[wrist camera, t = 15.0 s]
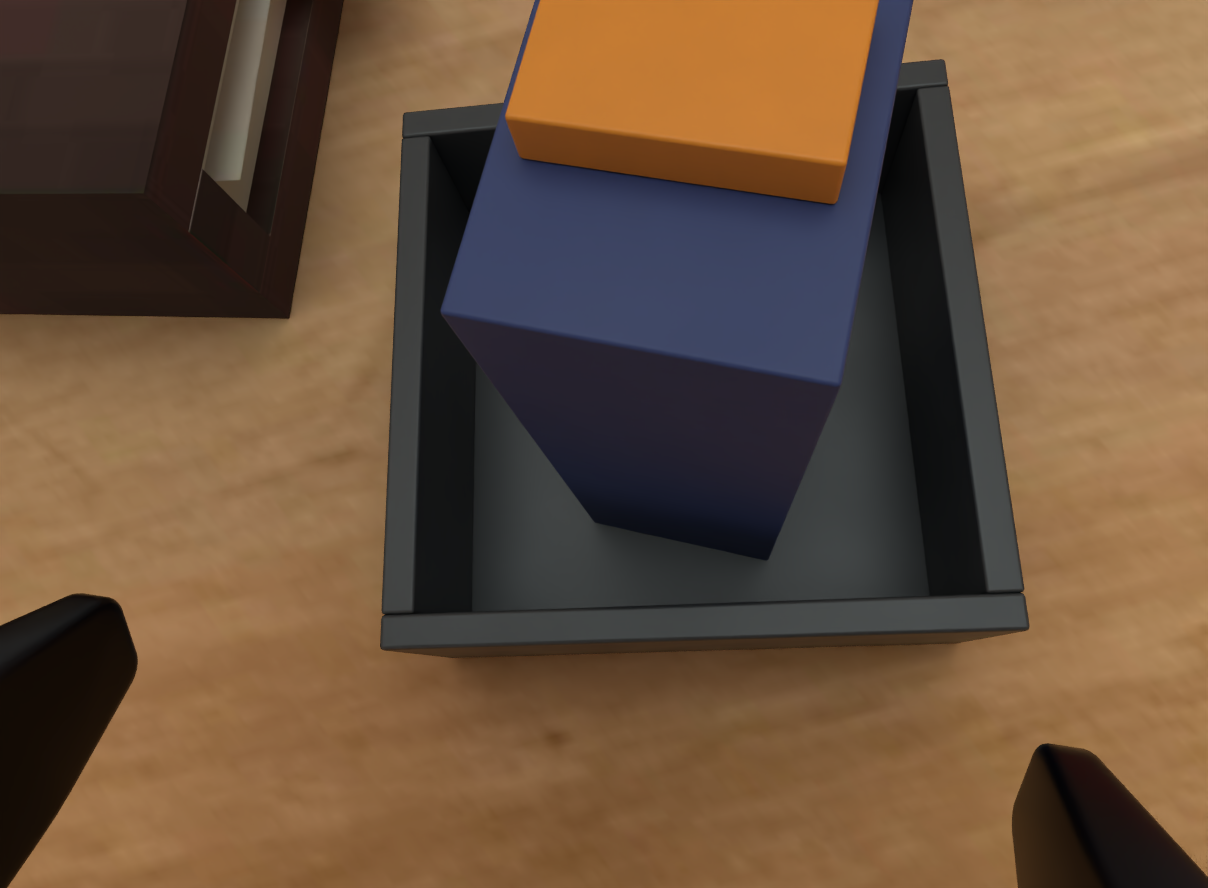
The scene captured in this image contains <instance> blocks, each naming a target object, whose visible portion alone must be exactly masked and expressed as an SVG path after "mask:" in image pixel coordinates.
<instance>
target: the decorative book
mask: <svg viewBox="0 0 1208 888" xmlns="http://www.w3.org/2000/svg"><path fill="white" fill-rule="evenodd" d="M342 5H343V0H0V314H60V315H124V316H188V317H252V318H289V314H290V308H291V302H292V297H293V291H294V285H295V279H296V273H297V267H298V262H299V256H300V250H301V244H302V238H303V232H304V227H305V221H306V215H307V209H308V203H309V197H310V192H311V186H312V180H313V174H314V168H315V162H316V157H317V151H318V145H319V139H320V133H321V127H322V122H323V116H324V110H325V104H326V98H327V92H328V87H329V81H330V75H331V69H332V63H333V58H334V52H335V46H336V40H337V34H338V28H339V23H340V17H341V11H342Z"/></svg>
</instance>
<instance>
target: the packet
mask: <svg viewBox="0 0 1208 888" xmlns="http://www.w3.org/2000/svg"><path fill="white" fill-rule="evenodd" d="M912 5H913V0H535V2H534V5H533V9H532V12H531V15H530V18H529V22H528V25H527V28H526V32H525V35H524V38H523V41H522V45H521V48H520V51H519V55H518V58H517V61H516V64H515V68H514V71H513V74H512V77H511V81H510V84H509V87H508V91H507V94H506V97H505V100H504V104H503V107H502V110H501V114H500V117H499V120H498V123H497V127H496V130H495V133H494V136H493V140H492V143H491V146H490V150H489V153H488V156H487V159H486V163H485V166H484V169H483V173H482V176H481V179H480V182H479V186H478V189H477V192H476V195H475V199H474V202H473V205H472V209H471V212H470V215H469V218H468V222H467V225H466V228H465V232H464V235H463V238H462V241H461V245H460V248H459V251H458V254H457V258H456V261H455V264H454V268H453V271H452V274H451V277H450V281H449V284H448V287H447V291H446V294H445V297H444V300H443V304H442V307H441V315H442V316H443V317H444V319H445V320H446V321H447V323H448V324H449V325H450V327H451V328H452V330H453V331H454V332H455V334H456V335H457V336H458V338H459V339H460V340H461V342H462V343H463V345H464V346H465V347H466V349H467V350H468V351H469V353H470V354H471V355H472V357H473V358H474V359H475V361H476V362H477V364H478V365H479V366H480V368H481V369H482V370H483V372H484V373H485V374H486V376H487V377H488V378H489V380H490V381H491V383H492V384H493V385H494V387H495V388H496V389H497V391H498V392H499V393H500V395H501V396H502V398H503V399H504V400H505V402H506V403H507V404H508V406H509V407H510V408H511V410H512V411H513V412H514V414H515V415H516V417H517V418H518V419H519V421H520V422H521V423H522V425H523V426H524V427H525V429H526V430H527V431H528V433H529V434H530V436H531V437H532V438H533V440H534V441H535V442H536V444H537V445H538V446H539V448H540V449H541V450H542V452H543V453H544V455H545V456H546V457H547V459H548V460H549V461H550V463H551V464H552V465H553V467H554V468H555V470H556V471H557V472H558V474H559V475H560V476H561V478H562V479H563V480H564V482H565V483H566V484H567V486H568V487H569V489H570V490H571V491H572V493H573V494H574V495H575V497H576V498H577V499H578V501H579V502H580V503H581V505H582V506H583V508H584V509H585V510H586V512H587V513H588V514H589V516H590V517H591V518H592V520H593V521H594V522H595V523H599V524H603V525H608V526H612V527H617V528H621V529H626V530H630V531H635V532H639V533H644V534H649V535H653V536H658V537H662V538H667V539H671V540H676V541H680V542H685V543H689V544H694V545H698V546H703V547H707V548H712V549H716V550H721V551H725V552H730V553H734V554H739V555H744V556H748V557H753V558H757V559H762V560H768V559H769V557H770V555H771V552H772V550H773V548H774V545H775V543H776V540H777V538H778V536H779V533H780V531H781V528H782V526H783V524H784V521H785V519H786V516H787V514H788V512H789V509H790V507H791V504H792V502H793V500H794V497H795V495H796V492H797V490H798V488H799V485H800V483H801V480H802V478H803V476H804V473H805V471H806V469H807V466H808V464H809V461H810V459H811V457H812V454H813V452H814V449H815V447H816V445H817V442H818V440H819V437H820V435H821V433H822V430H823V428H824V425H825V423H826V421H827V418H828V416H829V413H830V411H831V409H832V406H833V404H834V401H835V399H836V397H837V394H838V392H839V390H840V387H841V385H842V381H843V375H844V370H845V364H846V359H847V354H848V348H849V343H850V338H851V332H852V327H853V321H854V316H855V311H856V305H857V300H858V295H859V289H860V284H861V279H862V273H863V268H864V262H865V257H866V252H867V246H868V241H869V236H870V230H871V225H872V219H873V214H874V209H875V203H876V198H877V193H878V187H879V182H880V177H881V171H882V166H883V160H884V155H885V150H886V144H887V139H888V134H889V128H890V123H891V117H892V112H893V107H894V101H895V96H896V91H897V85H898V80H899V75H900V69H901V64H902V58H903V53H904V48H905V42H906V37H907V32H908V26H909V21H910V15H911V10H912Z"/></svg>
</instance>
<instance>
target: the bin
mask: <svg viewBox="0 0 1208 888" xmlns="http://www.w3.org/2000/svg"><path fill="white" fill-rule="evenodd" d="M503 104H504V103H498V104H488V105H478V106H467V107H457V108H447V109H437V110H427V111H417V112H407V113H404V115H403V130H402V137H403V139H402V149H401V173H400V196H399V219H398V242H397V265H396V288H395V312H394V335H393V358H392V381H391V404H390V427H389V450H388V474H387V497H386V520H385V543H384V566H383V589H382V613H383V614H385V615H384V616H382V619H381V640H380V647H381V649H382V650H386V651H395V652H404V653H414V654H423V655H432V656H441V657H449V658H466V657H500V656H535V655H569V654H603V653H638V652H672V651H707V650H741V649H776V648H810V647H844V646H879V645H913V644H948V643H961V642H966V641H972V640H977V639H983V638H988V637H994V636H999V635H1005V634H1011V633H1016V632H1022V631H1026V630H1028V629H1029V619H1028V612H1027V606H1026V599H1025V596H1024V594H1022V593H1020V592H1023V591H1024V584H1023V577H1022V570H1021V564H1020V557H1019V550H1018V544H1017V537H1016V530H1015V524H1014V517H1013V510H1012V504H1011V497H1010V490H1009V484H1008V477H1007V470H1006V464H1005V457H1004V450H1003V444H1002V437H1001V430H1000V424H999V417H998V410H997V404H996V397H995V390H994V384H993V377H992V370H991V364H990V357H989V350H988V344H987V337H986V330H985V324H984V317H983V310H982V304H981V297H980V290H979V284H978V277H977V270H976V264H975V257H974V250H973V244H972V237H971V230H970V224H969V217H968V210H967V204H966V197H965V190H964V184H963V177H962V170H961V164H960V157H959V150H958V144H957V137H956V130H955V123H954V117H953V110H952V103H951V97H950V90H949V87H948V79H947V72H946V65H945V61H944V60H942V59H940V60H930V61H920V62H910V63H902V64H901V69H900V75H899V80H898V85H897V91H896V96H895V101H894V107H893V112H892V117H891V123H890V128H889V134H888V139H887V144H886V150H885V155H884V160H883V166H882V171H881V177H880V182H879V187H878V193H877V198H876V203H875V209H874V214H873V219H872V225H871V230H870V236H869V241H868V246H867V252H866V257H865V262H864V268H863V273H862V279H861V284H860V289H859V295H858V300H857V305H856V311H855V316H854V321H853V327H852V332H851V338H850V343H849V348H848V354H847V359H846V364H845V370H844V375H843V381H842V385H841V387H840V390H839V392H838V394H837V397H836V399H835V401H834V404H833V406H832V409H831V411H830V413H829V416H828V418H827V421H826V423H825V425H824V428H823V430H822V433H821V435H820V437H819V440H818V442H817V445H816V447H815V449H814V452H813V454H812V457H811V459H810V461H809V464H808V466H807V469H806V471H805V473H804V476H803V478H802V480H801V483H800V485H799V488H798V490H797V492H796V495H795V497H794V500H793V502H792V504H791V507H790V509H789V512H788V514H787V516H786V519H785V521H784V524H783V526H782V528H781V531H780V533H779V536H778V538H777V540H776V543H775V545H774V548H773V550H772V552H771V555H770V557H769V559H768V560H762V559H757V558H753V557H748V556H744V555H739V554H734V553H730V552H725V551H721V550H716V549H712V548H707V547H703V546H698V545H694V544H689V543H685V542H680V541H676V540H671V539H667V538H662V537H658V536H653V535H649V534H644V533H639V532H635V531H630V530H626V529H621V528H617V527H612V526H608V525H603V524H599V523H595V522H594V521H593V520H592V518H591V517H590V516H589V514H588V513H587V512H586V510H585V509H584V508H583V506H582V505H581V503H580V502H579V501H578V499H577V498H576V497H575V495H574V494H573V493H572V491H571V490H570V489H569V487H568V486H567V484H566V483H565V482H564V480H563V479H562V478H561V476H560V475H559V474H558V472H557V471H556V470H555V468H554V467H553V465H552V464H551V463H550V461H549V460H548V459H547V457H546V456H545V455H544V453H543V452H542V450H541V449H540V448H539V446H538V445H537V444H536V442H535V441H534V440H533V438H532V437H531V436H530V434H529V433H528V431H527V430H526V429H525V427H524V426H523V425H522V423H521V422H520V421H519V419H518V418H517V417H516V415H515V414H514V412H513V411H512V410H511V408H510V407H509V406H508V404H507V403H506V402H505V400H504V399H503V398H502V396H501V395H500V393H499V392H498V391H497V389H496V388H495V387H494V385H493V384H492V383H491V381H490V380H489V378H488V377H487V376H486V374H485V373H484V372H483V370H482V369H481V368H480V366H479V365H478V364H477V362H476V361H475V359H474V358H473V357H472V355H471V354H470V353H469V351H468V350H467V349H466V347H465V346H464V345H463V343H462V342H461V340H460V339H459V338H458V336H457V335H456V334H455V332H454V331H453V330H452V328H451V327H450V325H449V324H448V323H447V321H446V320H445V319H444V317H443V316H442V315H441V307H442V304H443V300H444V297H445V294H446V291H447V287H448V284H449V281H450V277H451V274H452V271H453V268H454V264H455V261H456V258H457V254H458V251H459V248H460V245H461V241H462V238H463V235H464V232H465V228H466V225H467V222H468V218H469V215H470V212H471V209H472V205H473V202H474V199H475V195H476V192H477V189H478V186H479V182H480V179H481V176H482V173H483V169H484V166H485V163H486V159H487V156H488V153H489V150H490V146H491V143H492V140H493V136H494V133H495V130H496V127H497V123H498V120H499V117H500V114H501V110H502V107H503Z"/></svg>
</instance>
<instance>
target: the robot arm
mask: <svg viewBox="0 0 1208 888" xmlns="http://www.w3.org/2000/svg"><path fill="white" fill-rule="evenodd" d="M137 664H138V659H137V653H136V650H135V647H134V644H133V641H132V638H131V635H130V632H129V629H128V626H127V623H126V620H125V617H124V614H123V611H122V608H121V606H120V605H119V603H118V602H116V601H115V600H114V599H112V598H109V597H103V596H96V595H90V594H83V593H80V594H72V595H69V596H66V597H64V598H62V599H60V600H57V601H55V602H53V603H51V604H48V605H46V606H44V607H42V608H39V609H37V610H35V611H33V612H30V613H28V614H26V615H23V616H21V617H19V618H17V619H14V620H12V621H10V622H8V623H5V624H3V625H1V626H0V888H7V887H8V886H9V884H10V883H11V881H12V880H13V879H14V877H15V876H16V874H17V873H18V871H19V870H20V868H21V867H22V865H23V864H24V863H25V861H26V860H27V858H28V857H29V855H30V854H31V852H32V851H33V850H34V848H35V847H36V845H37V844H38V842H39V841H40V839H41V838H42V836H43V835H44V833H45V832H46V830H47V829H48V827H49V826H50V824H51V823H52V821H53V820H54V818H55V817H56V815H57V814H58V812H59V810H60V809H61V807H62V805H63V803H64V802H65V800H66V798H67V797H68V795H69V793H70V792H71V790H72V788H73V787H74V785H75V783H76V781H77V779H78V778H79V776H80V774H81V772H82V770H83V769H84V767H85V765H86V763H87V762H88V760H89V758H90V756H91V754H92V753H93V751H94V749H95V747H96V746H97V744H98V742H99V740H100V738H101V737H102V735H103V733H104V731H105V730H106V728H107V726H108V724H109V722H110V721H111V719H112V717H113V715H114V714H115V712H116V710H117V708H118V706H119V705H120V703H121V701H122V699H123V698H124V696H125V694H126V692H127V690H128V689H129V687H130V685H131V683H132V681H133V679H134V677H135V674H136V670H137ZM1012 834H1013V844H1014V853H1015V863H1016V873H1017V883H1018V888H1208V877H1207V875H1206V874H1205V873H1204V872H1203V871H1202V870H1201V869H1200V868H1199V867H1198V866H1197V865H1196V864H1195V862H1194V861H1193V860H1192V859H1191V858H1190V857H1189V856H1188V855H1187V854H1186V853H1185V852H1184V850H1183V849H1182V848H1181V847H1180V846H1179V845H1178V844H1177V843H1176V842H1175V841H1174V840H1173V838H1172V837H1171V836H1170V835H1169V834H1168V833H1167V832H1166V831H1165V830H1164V829H1163V828H1162V827H1161V825H1160V824H1159V823H1158V822H1157V821H1156V820H1155V819H1154V818H1153V817H1152V816H1151V815H1150V813H1149V812H1148V811H1147V810H1146V809H1145V808H1144V807H1143V806H1142V805H1141V804H1140V803H1139V801H1138V800H1137V799H1136V798H1135V797H1134V796H1133V795H1132V794H1131V793H1130V792H1129V791H1128V790H1127V788H1126V787H1125V786H1124V785H1123V784H1122V783H1121V782H1120V781H1119V780H1118V779H1117V778H1116V776H1115V775H1114V774H1113V773H1112V772H1111V771H1110V770H1109V769H1108V768H1107V767H1106V766H1105V765H1104V763H1103V762H1102V761H1101V760H1100V759H1099V758H1098V757H1097V756H1096V755H1094V754H1093V753H1091V752H1090V751H1088V750H1085V749H1081V748H1074V747H1068V746H1062V745H1055V744H1049V743H1047V744H1042V745H1040V746H1039V747H1038V748H1037V749H1036V750H1035V752H1034V753H1033V756H1032V758H1031V761H1030V763H1029V766H1028V769H1027V771H1026V774H1025V776H1024V779H1023V782H1022V784H1021V787H1020V789H1019V792H1018V795H1017V797H1016V800H1015V803H1014V807H1013V813H1012Z"/></svg>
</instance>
